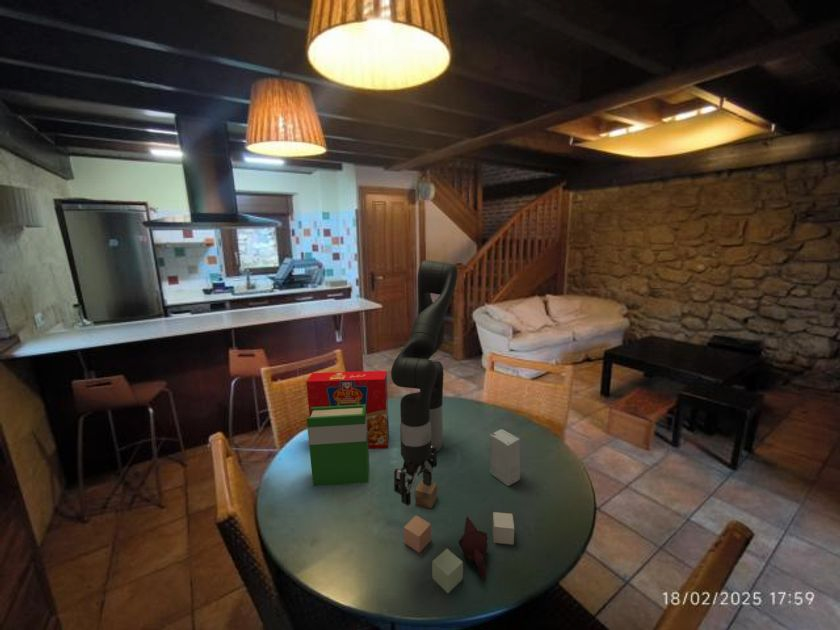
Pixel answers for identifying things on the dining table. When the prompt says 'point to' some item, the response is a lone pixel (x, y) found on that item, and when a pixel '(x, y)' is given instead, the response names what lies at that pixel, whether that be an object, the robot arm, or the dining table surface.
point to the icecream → (474, 545)
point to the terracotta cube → (417, 533)
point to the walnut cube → (425, 494)
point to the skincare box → (505, 457)
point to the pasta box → (355, 398)
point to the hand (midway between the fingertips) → (417, 493)
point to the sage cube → (447, 570)
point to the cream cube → (503, 528)
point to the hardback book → (338, 445)
